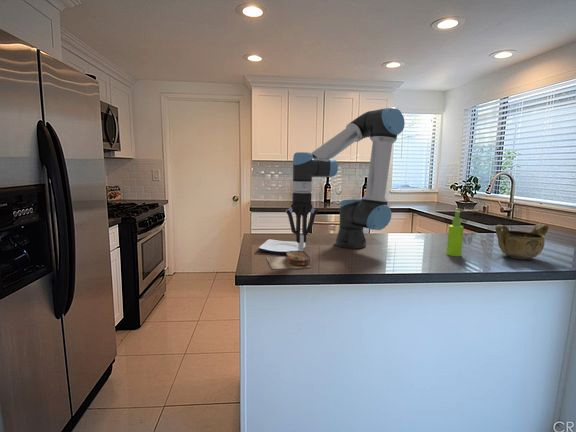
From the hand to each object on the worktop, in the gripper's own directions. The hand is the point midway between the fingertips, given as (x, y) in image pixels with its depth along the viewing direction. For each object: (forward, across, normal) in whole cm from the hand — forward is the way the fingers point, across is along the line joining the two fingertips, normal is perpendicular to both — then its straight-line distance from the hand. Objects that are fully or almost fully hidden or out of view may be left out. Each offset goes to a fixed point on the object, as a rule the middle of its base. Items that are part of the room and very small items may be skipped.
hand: (300, 250), depth 135 cm
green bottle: (+5, +72, +1) cm, 72 cm away
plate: (+6, -3, +22) cm, 23 cm away
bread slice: (+4, +3, 0) cm, 5 cm away
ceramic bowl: (+5, +97, -9) cm, 98 cm away
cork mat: (+5, -6, 0) cm, 7 cm away
